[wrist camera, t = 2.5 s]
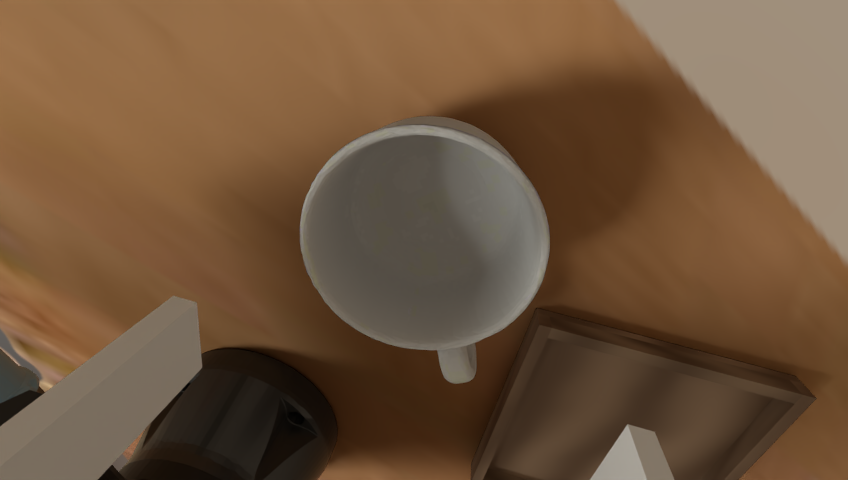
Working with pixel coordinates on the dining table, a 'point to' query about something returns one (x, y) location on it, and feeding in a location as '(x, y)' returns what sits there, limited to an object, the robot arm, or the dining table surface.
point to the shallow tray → (629, 405)
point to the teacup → (426, 238)
